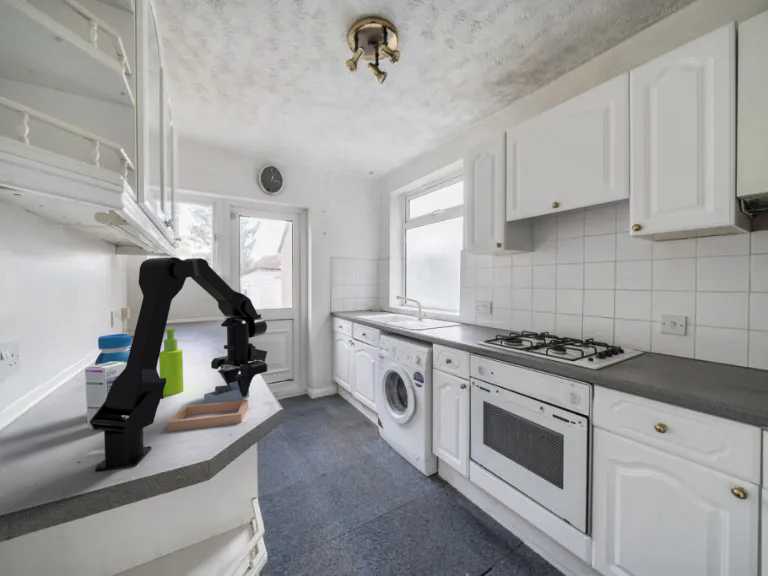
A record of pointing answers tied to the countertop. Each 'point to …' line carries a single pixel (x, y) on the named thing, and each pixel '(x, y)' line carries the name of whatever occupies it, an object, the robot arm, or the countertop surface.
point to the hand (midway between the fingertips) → (239, 395)
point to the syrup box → (100, 385)
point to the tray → (181, 423)
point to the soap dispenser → (171, 365)
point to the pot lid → (224, 389)
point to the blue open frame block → (225, 395)
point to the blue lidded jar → (113, 348)
